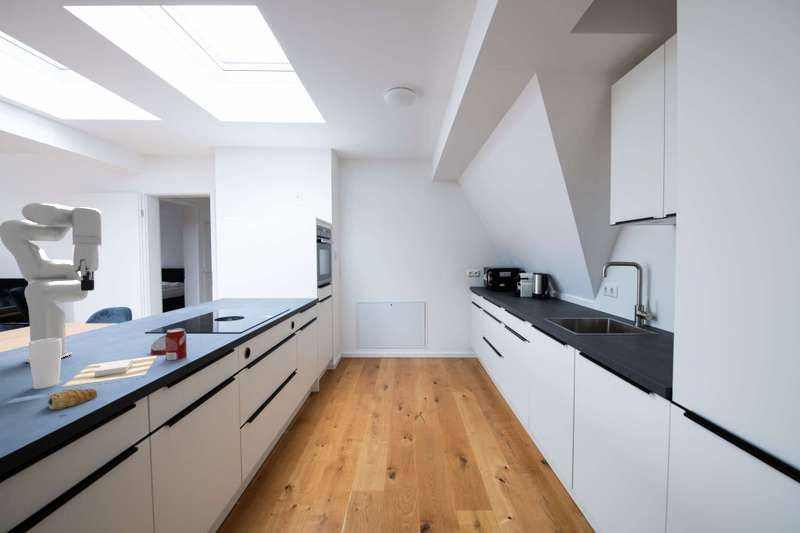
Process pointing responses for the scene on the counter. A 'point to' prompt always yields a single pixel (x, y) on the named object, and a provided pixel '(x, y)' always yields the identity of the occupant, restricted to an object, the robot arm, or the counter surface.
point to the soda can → (175, 344)
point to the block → (114, 367)
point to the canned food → (158, 346)
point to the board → (88, 374)
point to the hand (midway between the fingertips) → (87, 290)
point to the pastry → (70, 398)
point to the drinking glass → (45, 362)
